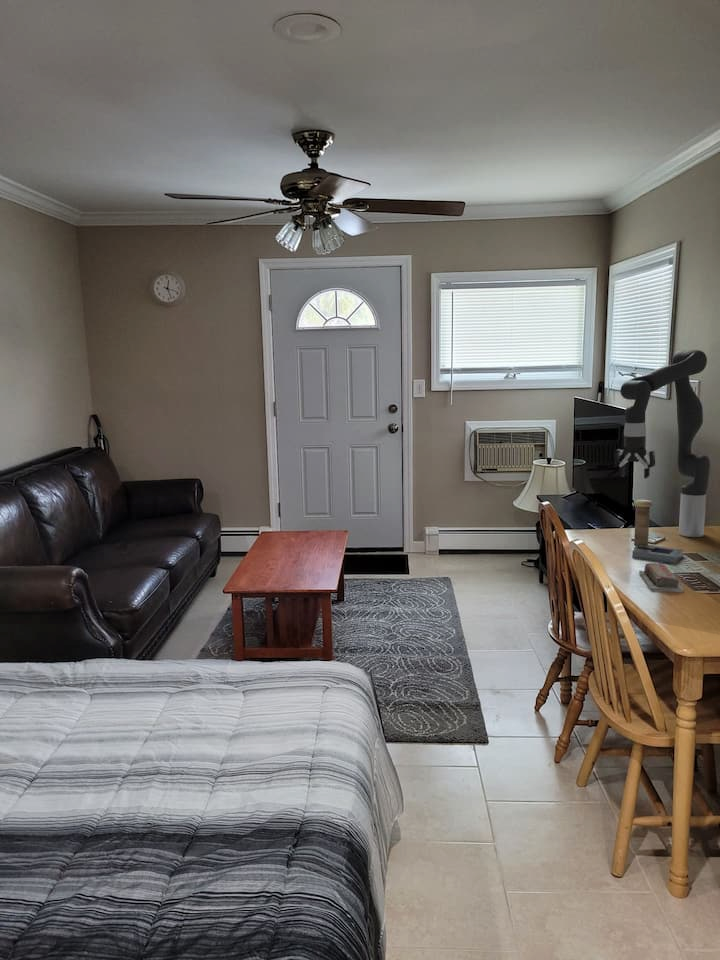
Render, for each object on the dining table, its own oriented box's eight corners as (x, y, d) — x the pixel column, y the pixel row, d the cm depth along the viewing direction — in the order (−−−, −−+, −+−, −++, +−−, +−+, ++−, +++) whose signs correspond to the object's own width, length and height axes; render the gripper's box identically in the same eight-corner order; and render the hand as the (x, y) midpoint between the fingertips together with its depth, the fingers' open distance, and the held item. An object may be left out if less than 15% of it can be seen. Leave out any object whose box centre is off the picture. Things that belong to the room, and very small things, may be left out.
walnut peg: (635, 542, 271) (636, 499, 268) (651, 544, 267) (654, 500, 264) (630, 545, 266) (631, 501, 263) (647, 548, 262) (649, 503, 259)
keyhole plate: (674, 563, 241) (674, 556, 241) (630, 557, 251) (630, 550, 250) (682, 556, 250) (682, 549, 250) (639, 550, 260) (639, 543, 259)
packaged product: (638, 561, 231) (670, 562, 229) (638, 575, 232) (669, 576, 230) (651, 577, 213) (685, 579, 211) (650, 592, 214) (684, 594, 212)
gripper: (658, 433, 252) (657, 477, 255) (619, 432, 262) (618, 474, 264) (651, 436, 247) (650, 480, 250) (612, 435, 256) (611, 477, 259)
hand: (634, 477), depth 257 cm, fingers open, 8 cm apart
